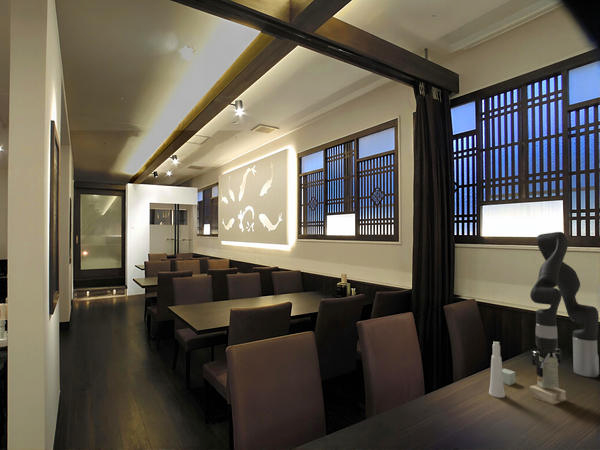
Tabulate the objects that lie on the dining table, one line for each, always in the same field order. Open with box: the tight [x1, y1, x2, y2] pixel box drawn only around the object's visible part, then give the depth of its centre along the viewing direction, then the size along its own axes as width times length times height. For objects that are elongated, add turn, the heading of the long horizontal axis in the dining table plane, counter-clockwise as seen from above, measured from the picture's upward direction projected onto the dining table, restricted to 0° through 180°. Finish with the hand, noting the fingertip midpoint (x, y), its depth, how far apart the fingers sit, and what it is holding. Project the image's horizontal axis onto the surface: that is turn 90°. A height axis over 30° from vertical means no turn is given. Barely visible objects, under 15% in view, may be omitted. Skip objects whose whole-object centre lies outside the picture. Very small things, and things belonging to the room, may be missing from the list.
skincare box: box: [536, 357, 559, 389], centre depth 146 cm, size 6×4×12 cm
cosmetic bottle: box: [488, 341, 506, 399], centre depth 149 cm, size 6×6×22 cm
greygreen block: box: [502, 368, 517, 386], centre depth 161 cm, size 5×5×5 cm
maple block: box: [528, 383, 567, 406], centre depth 146 cm, size 9×9×4 cm
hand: (547, 375), depth 146 cm, fingers closed on skincare box, 7 cm apart
